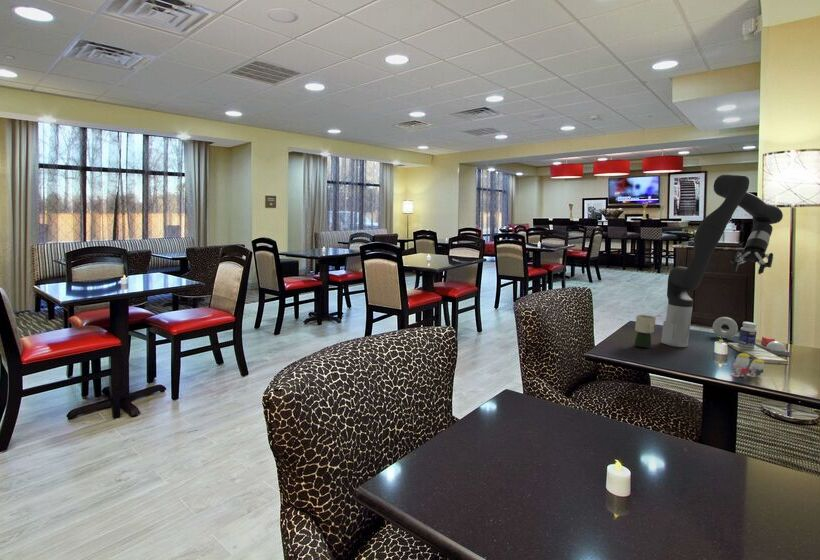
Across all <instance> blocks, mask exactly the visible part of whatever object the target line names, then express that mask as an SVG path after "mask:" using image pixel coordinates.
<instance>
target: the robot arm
mask: <svg viewBox="0 0 820 560" xmlns="http://www.w3.org/2000/svg"><path fill="white" fill-rule="evenodd" d="M749 186H750V179H749V177H748V176H747V175H743V174H730V173H729V174H728V173H727V174H721V175H719V176H717V178H715V180H714V183H713V192H714V193H715V194H716V195H717V196H719V197H721V198H723V199H724V200H723V202H722V203H721V204H720V205H719V206H718V207H717V208H716V209H714V211H711V213H709V214H708V215H706V216H705V217H704V218H703V219H702V220H701V221H700V223H699V225H698V227H697V229H696V231H695V232H694V235H693V243H692V244H693V256H692V259H691V261H690V263H689V264H688V266H687V267H686V266H681V265H680V266H679V265H678V266H675V267H673V268H672V269H671V270H670V272H669V274H668V278H667V287H666V288H667V289H666V297H667V308H666V316H665V320H664V321H663V323H662V332H661V340H660V343H661V344H665V345H667V346H670V347H676V348H686V347H687V348H688V344H689V336H690V328H691V322H692V321H691V320H692V313H693V306H694V299H693V298H691V297H690V295H689V294H688V291H695V290H696V289H697V288H698V287H699V286H700V284H701V283H702V280H703V278H704V275H705V273H706V270H707V267H708V264H709V262H710V260H711V258H712V255H713V253H714V251H715V250H716V248H717V246H718V244H719V242H720V240H721V238H722V236H723V234H724V233H725V230H726V228H727V226H728V224H729V222H730V221H731V219H732V216H733V215H734V213H735V211H736V210H737V208H738V207H740V208H742V210H744V211H745V212H746V213H748V214H749V215H750V216H752V230H751V232H750V235H749V236H748V238H747V241H746V243H745V246H744V249H743V250H742V251H738V249H735V250H734V251H733V253H732V255H731V257H730V264H731V265H732V270H733V272H736V273H737V272H738V268H739V265H741V264H744V263H753V264H756V263H757V264H758V265H759V268H758V270H757V271H758V275H761V274H763V273H764V271H765V269H766V268H768V269H769V268H772V264H773V261H774V253H773V252H770V253H768V254H767V253H766V251H767V249H768V247H769V244H770V238H771V236H772V232H773V226H772V225H773V224H778V223H780V222H781V221H782V219H783V216H784V214H783V211H782V210H781V208H779V207H778V206H776V205H773V204H771V203H767V202H765V201H764V200H763V199H761V197H759V196H757V195H755V194H753V193H750V192H748V190H749ZM765 258H766V259H767V262H765V261H764V259H765Z"/></svg>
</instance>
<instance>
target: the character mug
mask: <svg viewBox="0 0 820 560" xmlns="http://www.w3.org/2000/svg"><path fill="white" fill-rule="evenodd" d="M635 317H636V318H635V325H634V330H635V331H636V332H637V333H636V336H635V339H634V340H635V341H634V346H636V347H639V348H643V349H645V348H649V349H650V348H651V347H652V336H651V334H653V333H654V332H655V325H656V317H655V316H652V315H648V314H636V316H635Z"/></svg>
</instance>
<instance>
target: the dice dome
mask: <svg viewBox="0 0 820 560" xmlns="http://www.w3.org/2000/svg"><path fill="white" fill-rule="evenodd" d="M755 346H757V347H759V348H761V349H764V350H766V351H768V352H770V353H772V354H774V355H776V356H785V357H787V356H788V357H790V356H791V352H790V351H789V350H787V349H786V347H785V344H783V343H782V342H780V341H776V339H775V338H773V337H770V336H761V342H755Z"/></svg>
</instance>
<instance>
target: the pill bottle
mask: <svg viewBox="0 0 820 560" xmlns="http://www.w3.org/2000/svg"><path fill="white" fill-rule="evenodd" d="M756 327H757V323H755V322H751V321H743V322H742V327H740V330H739V335H738V340H737V341H738V342H737V343H738V344H739V345H740V346H744V347H754V345H755V343H756V338H757V332H758V330H757V328H756Z"/></svg>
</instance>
